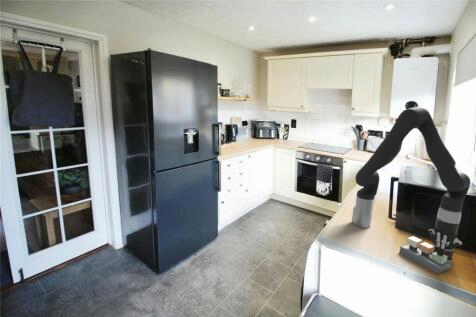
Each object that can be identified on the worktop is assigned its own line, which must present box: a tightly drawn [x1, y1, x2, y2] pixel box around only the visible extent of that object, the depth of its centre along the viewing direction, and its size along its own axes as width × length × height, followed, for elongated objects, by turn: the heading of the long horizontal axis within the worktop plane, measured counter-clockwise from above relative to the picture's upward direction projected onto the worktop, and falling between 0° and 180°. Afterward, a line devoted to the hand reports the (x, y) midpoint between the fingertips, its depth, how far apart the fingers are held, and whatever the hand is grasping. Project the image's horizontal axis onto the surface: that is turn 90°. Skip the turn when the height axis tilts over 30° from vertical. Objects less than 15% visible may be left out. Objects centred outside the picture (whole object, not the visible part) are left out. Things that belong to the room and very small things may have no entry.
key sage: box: [431, 252, 448, 264], centre depth 113 cm, size 4×4×3 cm
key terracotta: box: [419, 241, 435, 254], centre depth 118 cm, size 4×4×3 cm
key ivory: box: [406, 235, 423, 248], centre depth 123 cm, size 4×4×3 cm
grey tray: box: [399, 244, 452, 274], centre depth 118 cm, size 17×9×5 cm, turn 25°
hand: (440, 254), depth 113 cm, fingers closed
